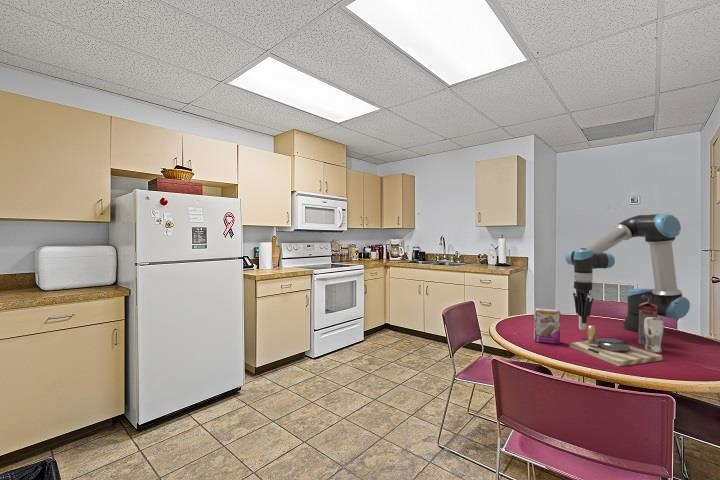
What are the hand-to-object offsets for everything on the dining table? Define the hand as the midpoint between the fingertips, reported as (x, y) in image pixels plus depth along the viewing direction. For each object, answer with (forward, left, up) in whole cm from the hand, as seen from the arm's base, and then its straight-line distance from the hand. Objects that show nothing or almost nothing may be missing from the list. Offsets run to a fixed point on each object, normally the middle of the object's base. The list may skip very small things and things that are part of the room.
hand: (582, 329), depth 165 cm
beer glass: (-25, +14, -8) cm, 30 cm away
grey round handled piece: (-2, +10, -6) cm, 11 cm away
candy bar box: (+13, -9, -8) cm, 18 cm away
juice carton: (-33, +6, -8) cm, 35 cm away
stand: (-4, +12, -8) cm, 15 cm away
